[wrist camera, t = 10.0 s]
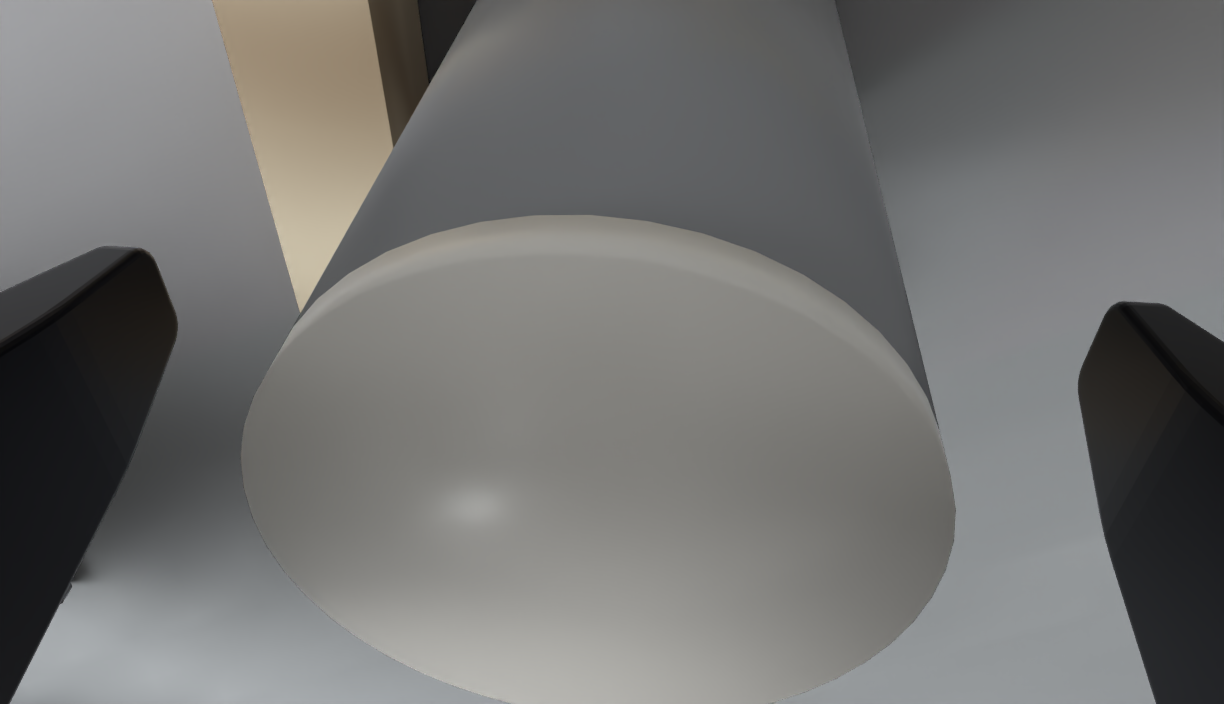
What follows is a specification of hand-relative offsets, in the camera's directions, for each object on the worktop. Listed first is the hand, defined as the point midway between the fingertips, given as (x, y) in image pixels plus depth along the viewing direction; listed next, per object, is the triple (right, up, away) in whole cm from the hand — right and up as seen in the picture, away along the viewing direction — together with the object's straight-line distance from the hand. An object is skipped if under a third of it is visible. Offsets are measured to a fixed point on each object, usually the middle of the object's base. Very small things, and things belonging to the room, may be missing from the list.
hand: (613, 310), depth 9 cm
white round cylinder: (+1, +4, +5) cm, 6 cm away
